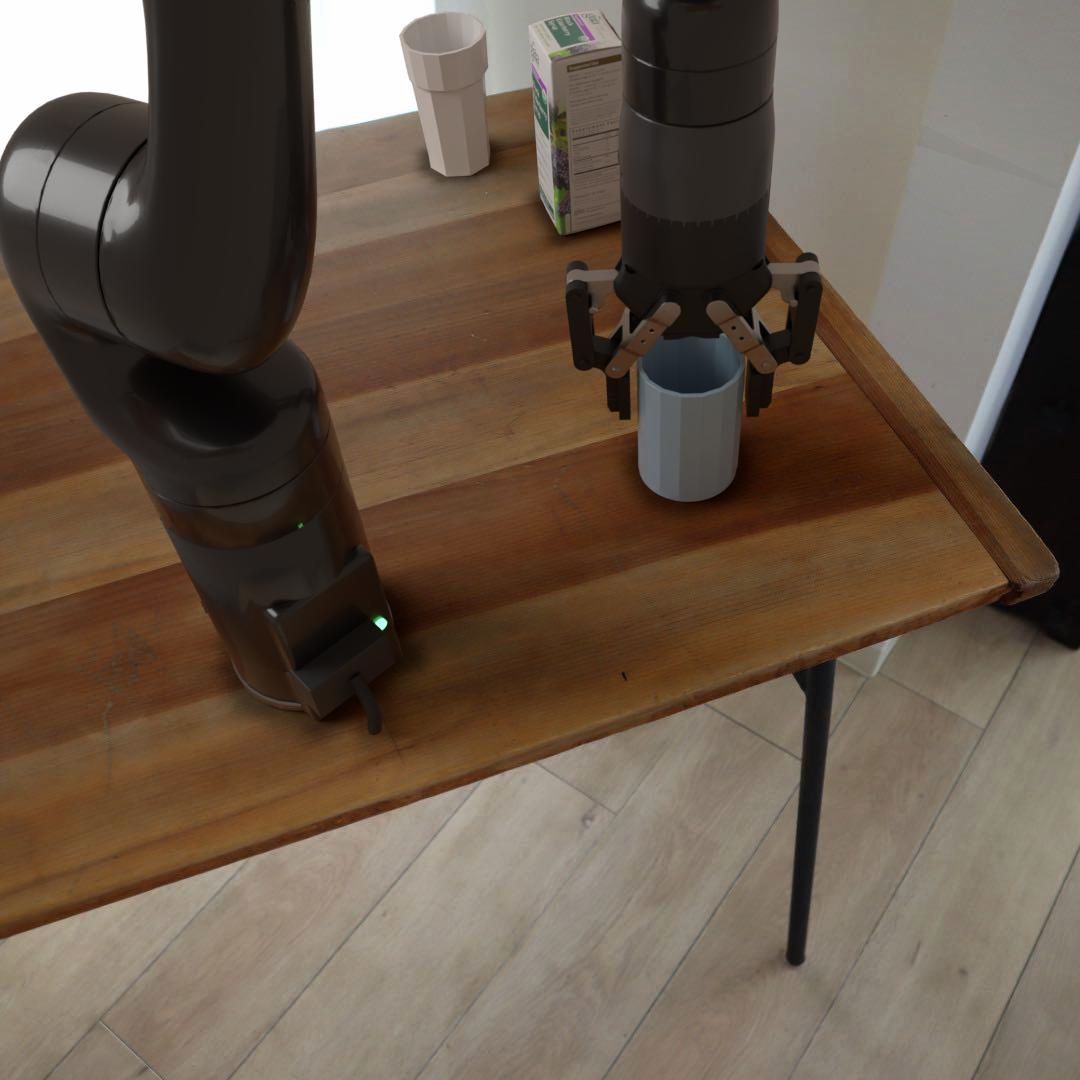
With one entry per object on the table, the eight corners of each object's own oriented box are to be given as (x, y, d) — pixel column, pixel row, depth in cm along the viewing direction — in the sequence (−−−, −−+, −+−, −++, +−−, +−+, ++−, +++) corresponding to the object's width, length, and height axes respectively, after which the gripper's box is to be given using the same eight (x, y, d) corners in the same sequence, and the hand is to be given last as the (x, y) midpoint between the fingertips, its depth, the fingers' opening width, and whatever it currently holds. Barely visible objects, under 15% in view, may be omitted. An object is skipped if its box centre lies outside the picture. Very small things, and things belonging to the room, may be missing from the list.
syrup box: (538, 198, 94) (522, 22, 83) (607, 180, 95) (601, 4, 84) (560, 238, 91) (546, 60, 80) (632, 219, 92) (629, 41, 80)
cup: (411, 149, 100) (389, 24, 92) (485, 129, 101) (469, 3, 93) (435, 190, 96) (413, 63, 88) (510, 169, 97) (497, 41, 89)
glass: (757, 464, 74) (767, 357, 68) (689, 518, 72) (693, 413, 65) (685, 416, 78) (688, 309, 71) (618, 466, 75) (614, 361, 68)
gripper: (548, 222, 57) (568, 457, 69) (851, 210, 55) (815, 451, 68) (553, 135, 61) (571, 370, 74) (833, 122, 60) (802, 363, 73)
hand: (688, 408), depth 71 cm, fingers open, 7 cm apart
